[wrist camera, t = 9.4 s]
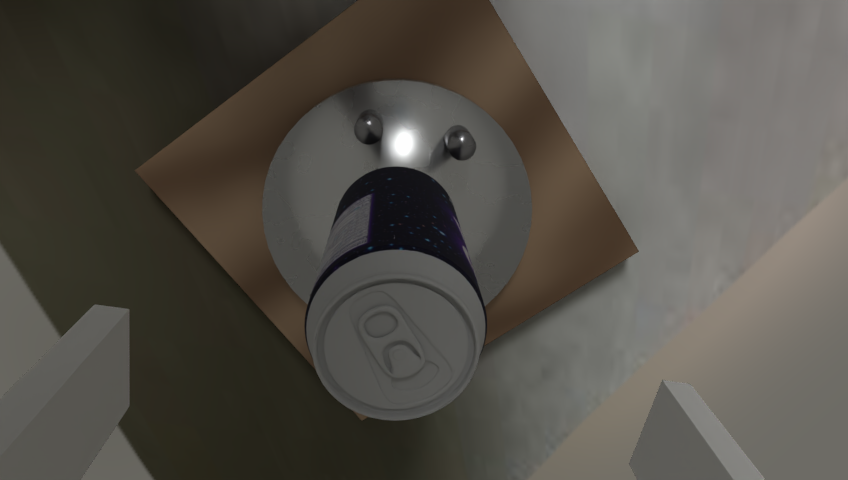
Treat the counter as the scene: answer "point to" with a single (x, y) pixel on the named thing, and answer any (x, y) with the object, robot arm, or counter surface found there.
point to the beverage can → (395, 299)
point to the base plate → (374, 60)
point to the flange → (406, 147)
